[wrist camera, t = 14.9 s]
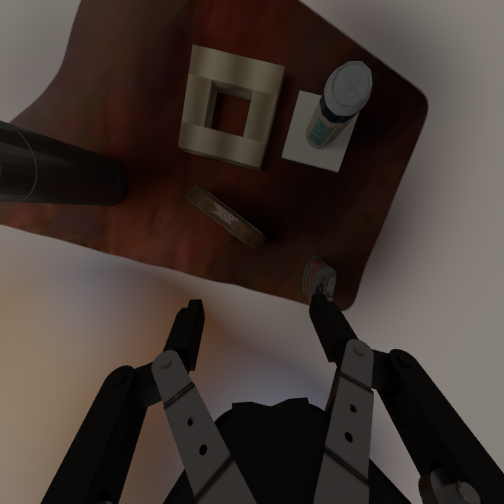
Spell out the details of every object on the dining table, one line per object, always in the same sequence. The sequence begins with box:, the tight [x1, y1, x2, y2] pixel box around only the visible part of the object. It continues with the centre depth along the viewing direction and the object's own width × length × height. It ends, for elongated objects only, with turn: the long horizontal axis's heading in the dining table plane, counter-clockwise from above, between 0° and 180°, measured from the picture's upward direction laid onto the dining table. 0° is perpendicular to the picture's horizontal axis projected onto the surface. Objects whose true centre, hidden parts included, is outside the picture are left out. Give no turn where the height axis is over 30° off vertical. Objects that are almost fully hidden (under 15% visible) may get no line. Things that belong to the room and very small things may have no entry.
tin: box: [186, 184, 266, 250], centre depth 31 cm, size 15×3×8 cm, turn 53°
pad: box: [281, 91, 359, 172], centre depth 30 cm, size 10×10×1 cm
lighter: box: [302, 256, 336, 303], centre depth 31 cm, size 8×3×10 cm, turn 172°
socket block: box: [178, 45, 285, 171], centre depth 30 cm, size 14×14×3 cm
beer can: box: [306, 61, 372, 149], centre depth 24 cm, size 5×5×12 cm
